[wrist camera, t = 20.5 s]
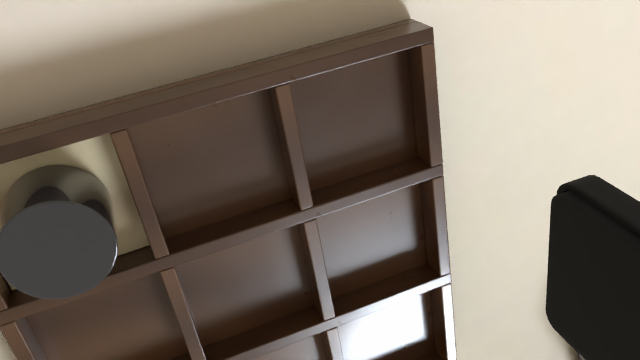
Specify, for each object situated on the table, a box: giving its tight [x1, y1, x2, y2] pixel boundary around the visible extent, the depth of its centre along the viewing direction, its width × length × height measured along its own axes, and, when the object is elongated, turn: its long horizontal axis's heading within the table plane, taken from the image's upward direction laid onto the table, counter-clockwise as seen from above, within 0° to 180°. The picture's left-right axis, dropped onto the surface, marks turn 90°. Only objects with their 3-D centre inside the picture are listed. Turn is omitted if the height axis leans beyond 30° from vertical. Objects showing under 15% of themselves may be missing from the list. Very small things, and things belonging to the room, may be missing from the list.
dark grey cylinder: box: [0, 165, 118, 299], centre depth 25 cm, size 4×4×4 cm
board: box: [0, 19, 457, 360], centre depth 32 cm, size 22×22×2 cm
